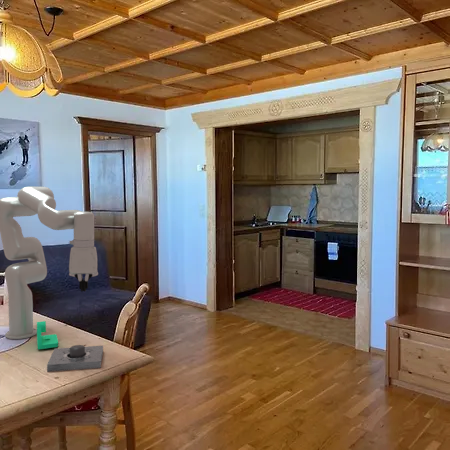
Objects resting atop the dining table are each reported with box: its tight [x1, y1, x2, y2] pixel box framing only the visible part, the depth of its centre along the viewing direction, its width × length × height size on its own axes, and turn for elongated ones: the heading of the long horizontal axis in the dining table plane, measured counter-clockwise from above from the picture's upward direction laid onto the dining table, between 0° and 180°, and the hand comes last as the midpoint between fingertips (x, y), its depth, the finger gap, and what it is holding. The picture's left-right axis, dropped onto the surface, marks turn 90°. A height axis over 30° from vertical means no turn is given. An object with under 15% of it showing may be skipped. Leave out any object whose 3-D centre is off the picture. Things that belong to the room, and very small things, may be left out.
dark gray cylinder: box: [69, 344, 86, 358], centre depth 165 cm, size 5×5×5 cm
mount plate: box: [46, 345, 104, 373], centre depth 164 cm, size 16×18×2 cm
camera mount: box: [36, 320, 59, 350], centre depth 180 cm, size 12×8×10 cm, turn 24°
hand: (83, 290), depth 172 cm, fingers closed
